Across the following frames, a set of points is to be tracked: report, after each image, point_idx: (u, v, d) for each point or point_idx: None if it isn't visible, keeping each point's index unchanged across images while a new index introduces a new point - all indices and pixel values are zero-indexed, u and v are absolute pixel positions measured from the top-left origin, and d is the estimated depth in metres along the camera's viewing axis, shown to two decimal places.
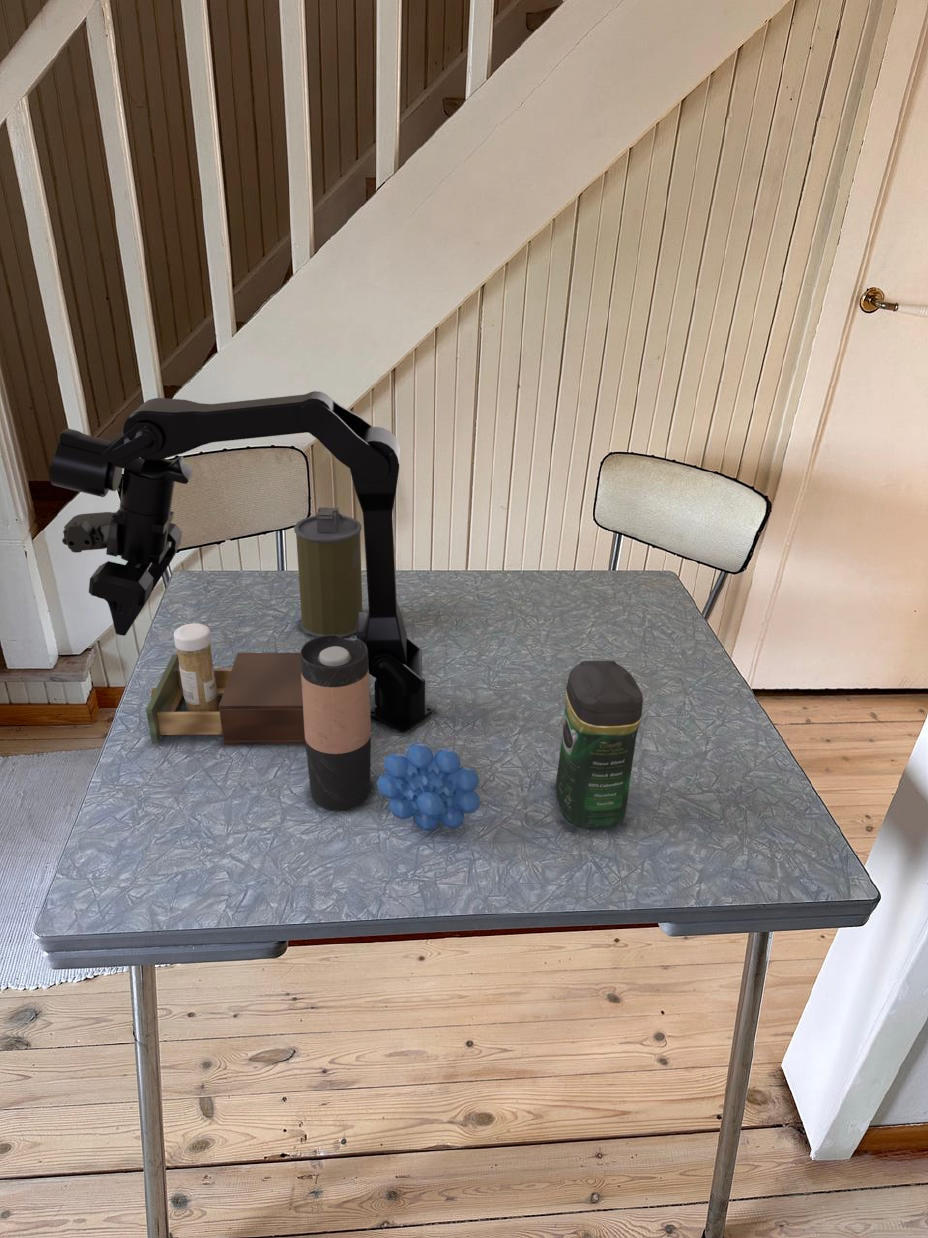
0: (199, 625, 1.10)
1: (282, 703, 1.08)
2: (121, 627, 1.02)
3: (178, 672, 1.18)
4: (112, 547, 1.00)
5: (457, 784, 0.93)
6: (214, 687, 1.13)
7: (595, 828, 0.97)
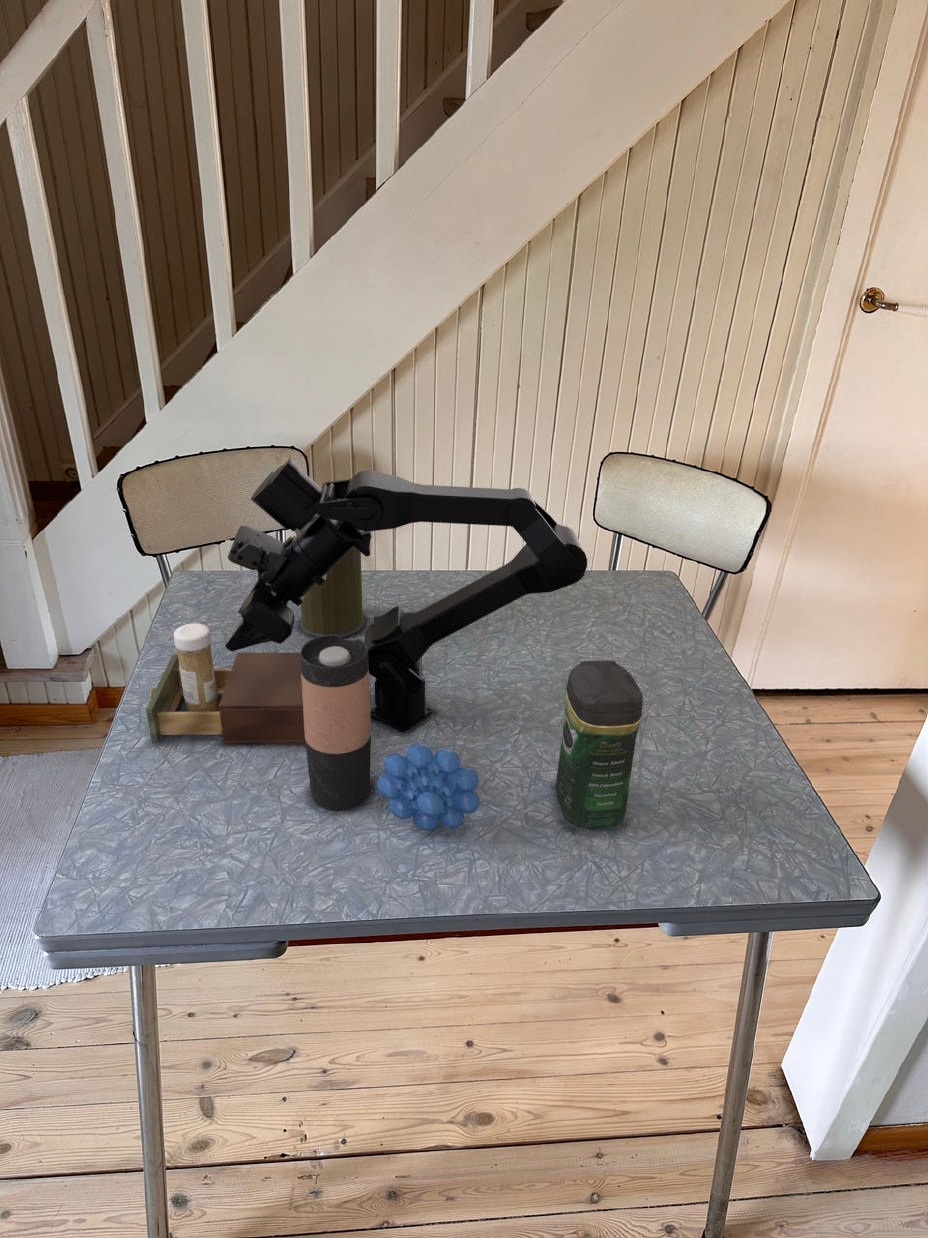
0: (199, 625, 1.10)
1: (282, 703, 1.08)
2: (235, 644, 1.04)
3: (178, 672, 1.18)
4: (269, 575, 1.03)
5: (457, 784, 0.93)
6: (214, 687, 1.13)
7: (595, 828, 0.97)
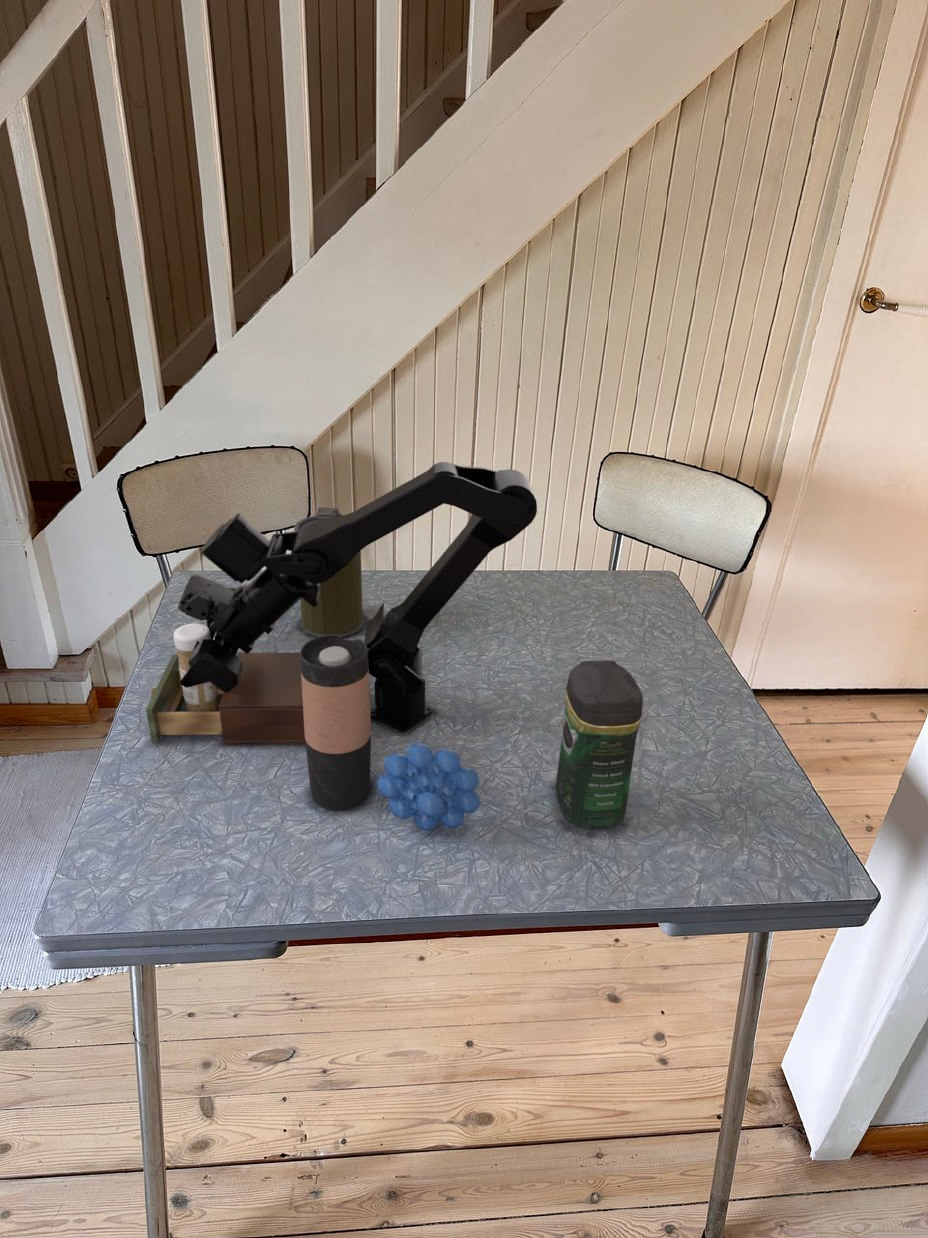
0: (199, 625, 1.10)
1: (282, 703, 1.08)
2: (189, 681, 1.09)
3: (178, 672, 1.18)
4: (218, 624, 1.05)
5: (457, 784, 0.93)
6: (214, 687, 1.13)
7: (595, 828, 0.97)
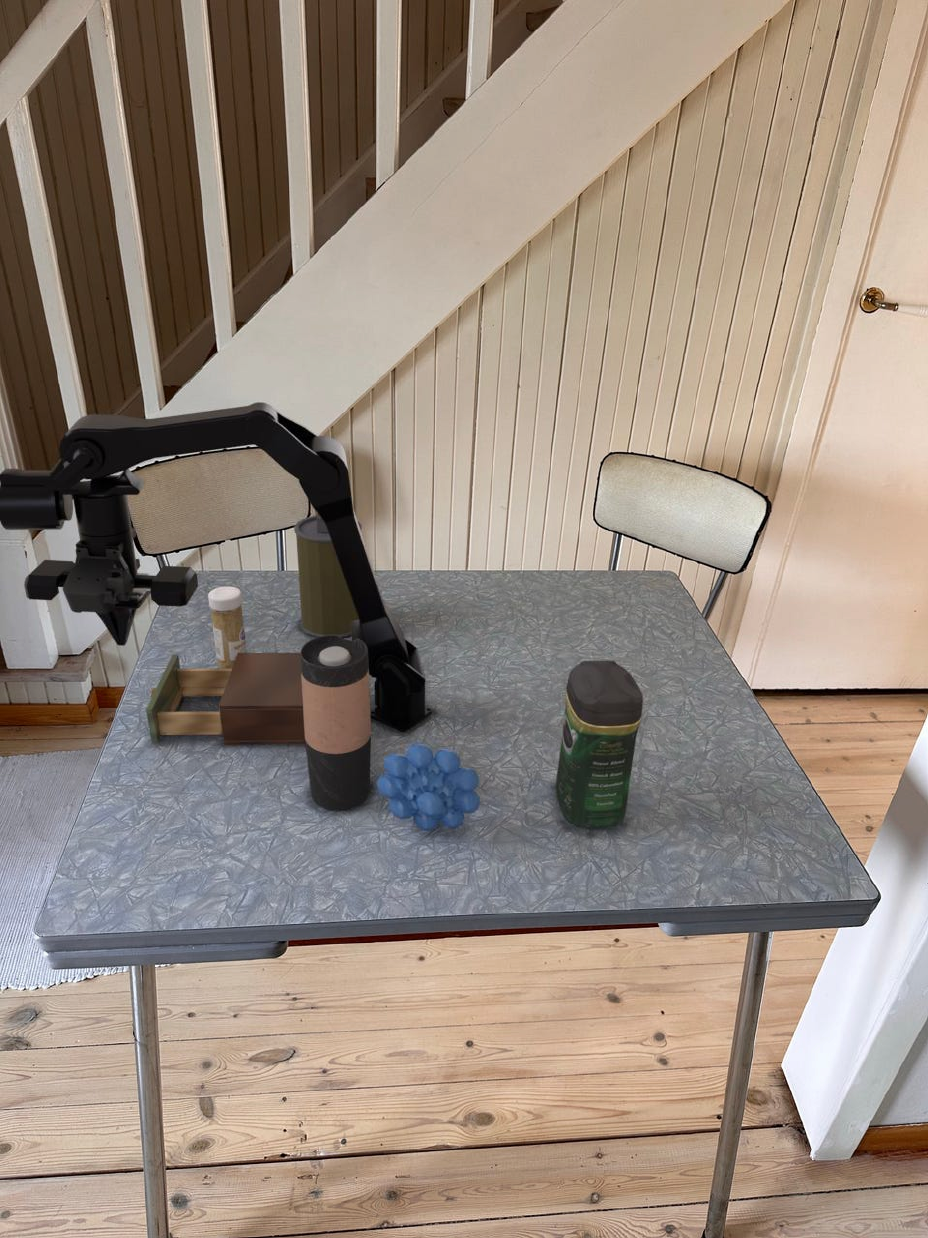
0: (234, 589, 1.20)
1: (282, 703, 1.08)
2: (127, 634, 1.04)
3: (178, 672, 1.18)
4: None
5: (457, 784, 0.93)
6: (240, 648, 1.22)
7: (595, 828, 0.97)
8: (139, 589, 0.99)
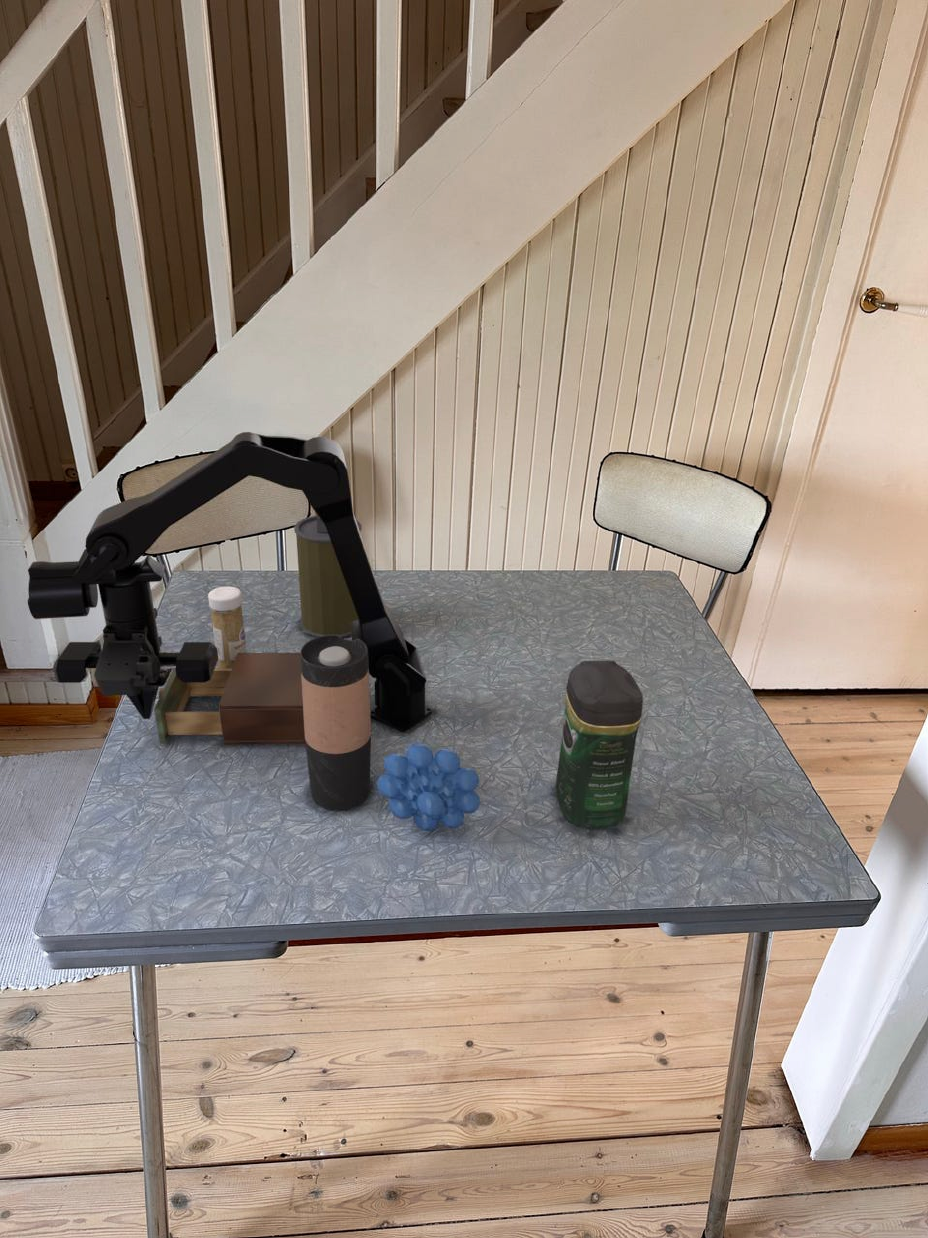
0: (234, 589, 1.20)
1: (282, 703, 1.08)
2: (152, 708, 1.09)
3: None
4: None
5: (457, 784, 0.93)
6: (240, 648, 1.22)
7: (595, 828, 0.97)
8: (164, 667, 1.04)
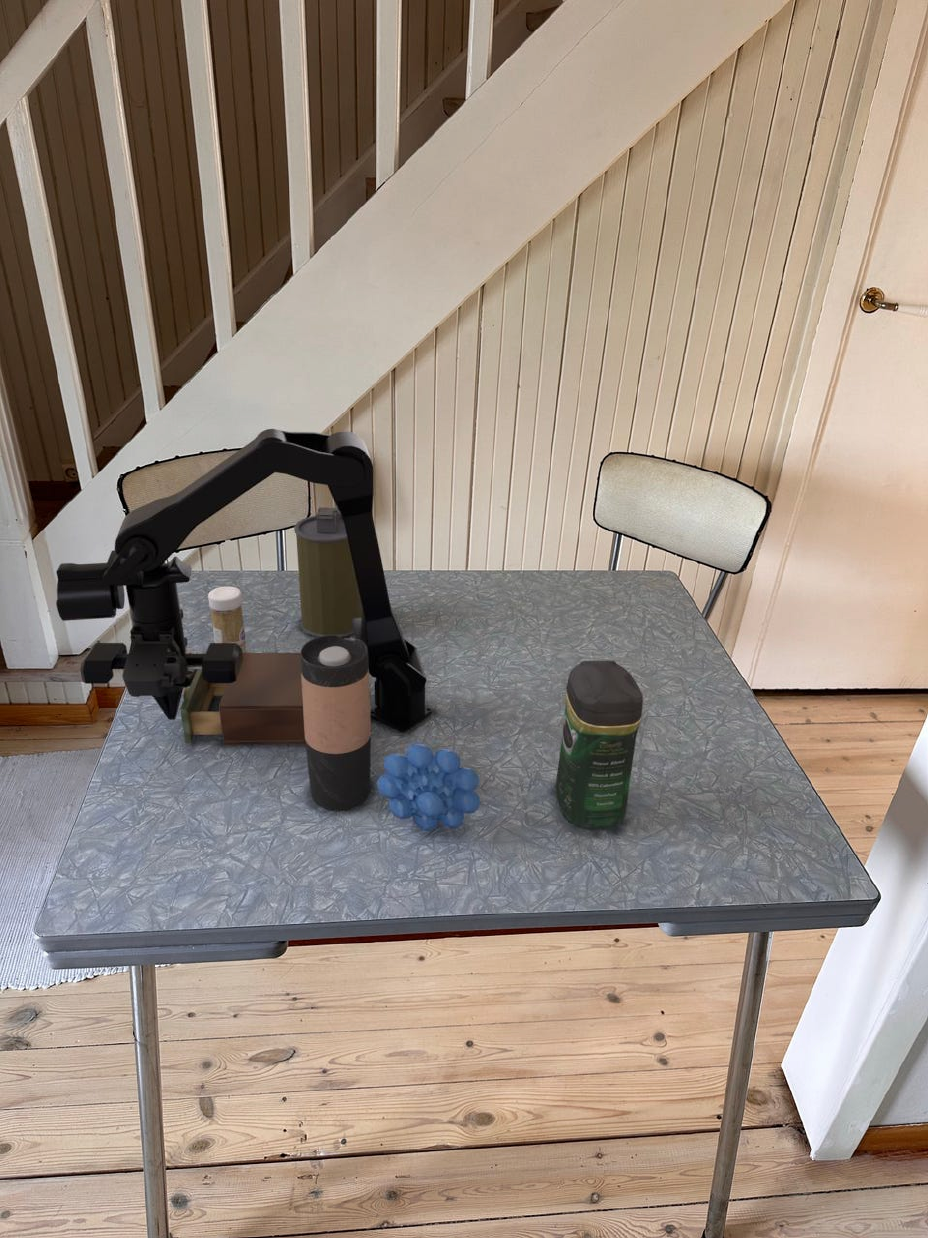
0: (234, 589, 1.20)
1: (282, 703, 1.08)
2: (177, 708, 1.09)
3: None
4: None
5: (457, 784, 0.93)
6: None
7: (595, 828, 0.97)
8: (190, 668, 1.04)
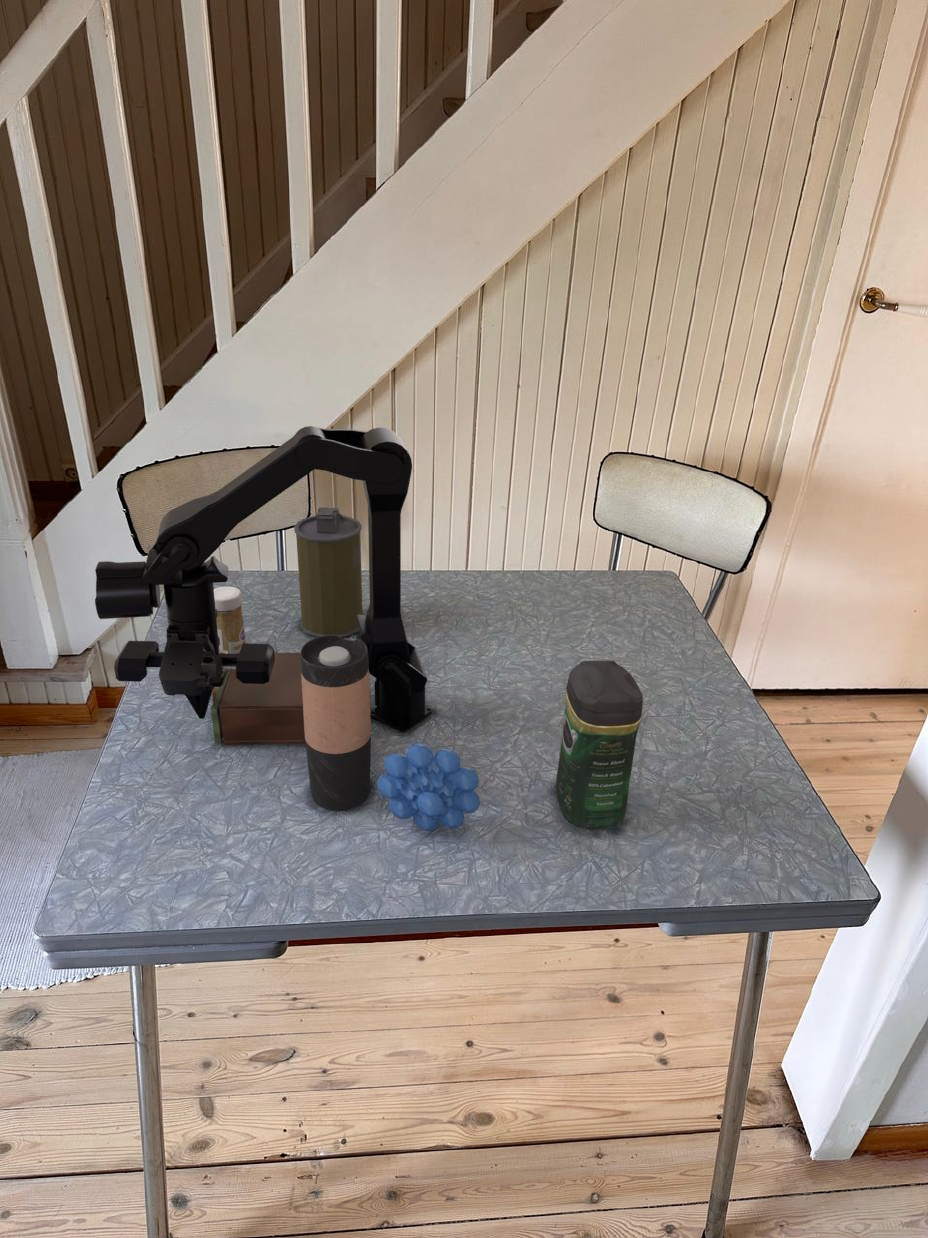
0: (234, 589, 1.20)
1: (282, 703, 1.08)
2: None
3: None
4: None
5: (457, 784, 0.93)
6: (240, 648, 1.22)
7: (595, 828, 0.97)
8: (223, 668, 1.05)
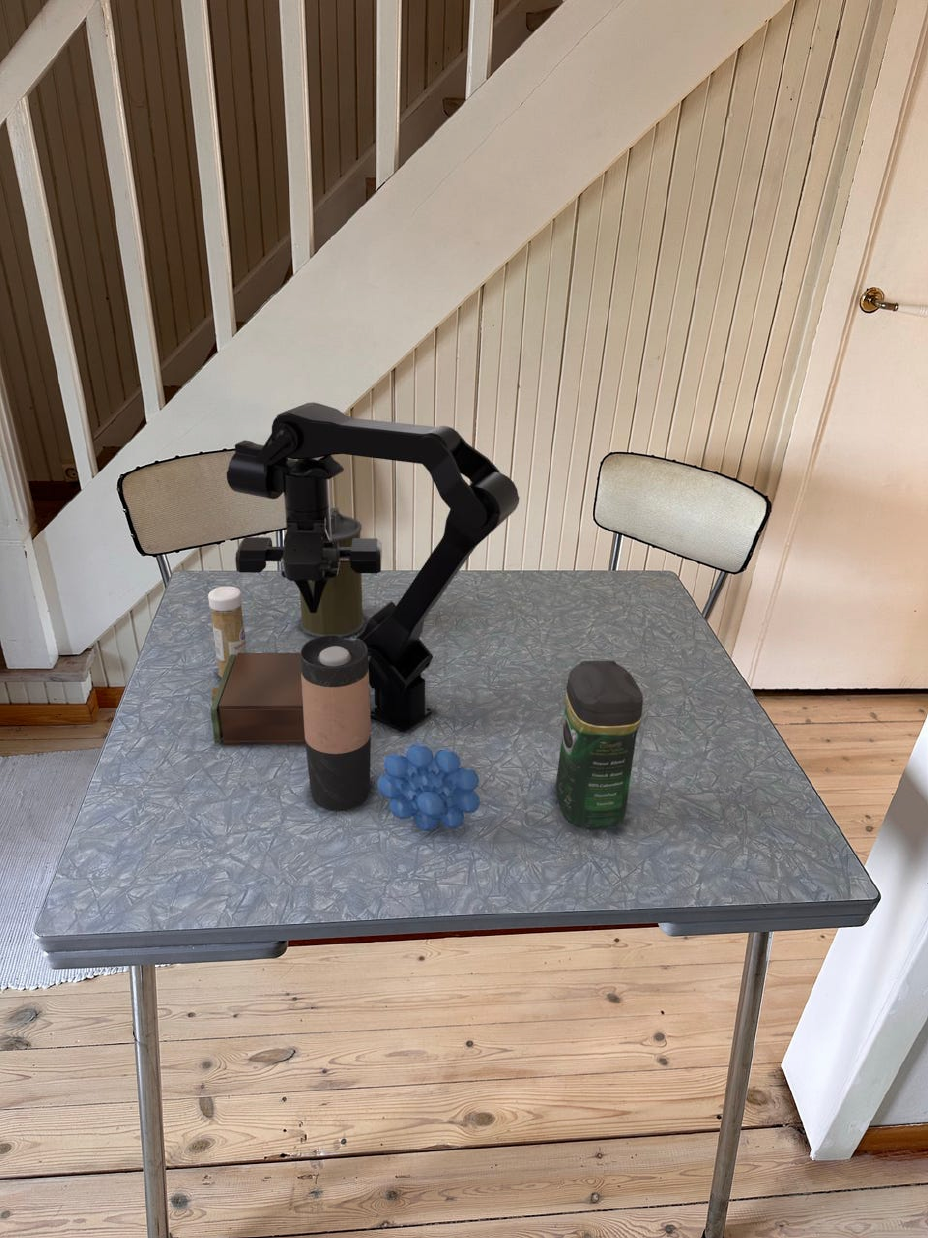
0: (234, 589, 1.20)
1: (282, 703, 1.08)
2: None
3: None
4: None
5: (457, 784, 0.93)
6: (240, 648, 1.22)
7: (595, 828, 0.97)
8: None
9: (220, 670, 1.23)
